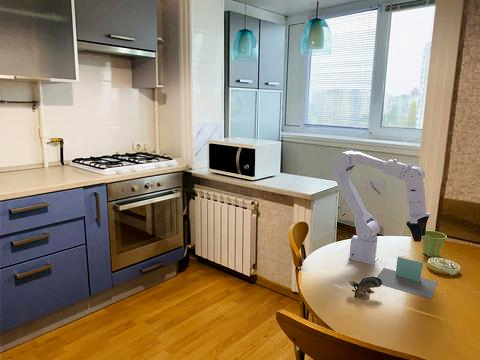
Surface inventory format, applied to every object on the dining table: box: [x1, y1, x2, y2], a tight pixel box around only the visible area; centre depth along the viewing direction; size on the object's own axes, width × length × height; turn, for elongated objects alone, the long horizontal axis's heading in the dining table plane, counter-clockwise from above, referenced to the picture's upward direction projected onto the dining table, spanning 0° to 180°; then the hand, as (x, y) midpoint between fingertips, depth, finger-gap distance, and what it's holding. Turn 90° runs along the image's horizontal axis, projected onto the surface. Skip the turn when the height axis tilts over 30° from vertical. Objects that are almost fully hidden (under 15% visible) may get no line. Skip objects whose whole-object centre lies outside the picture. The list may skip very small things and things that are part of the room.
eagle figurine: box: [348, 276, 383, 299], centre depth 116 cm, size 8×7×9 cm
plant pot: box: [421, 230, 448, 258], centre depth 148 cm, size 9×9×9 cm
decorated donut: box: [426, 256, 461, 276], centre depth 134 cm, size 10×11×4 cm
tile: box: [395, 255, 424, 282], centre depth 126 cm, size 8×2×7 cm, turn 54°
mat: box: [376, 267, 439, 300], centre depth 124 cm, size 18×14×1 cm
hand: (419, 238), depth 128 cm, fingers open, 7 cm apart
